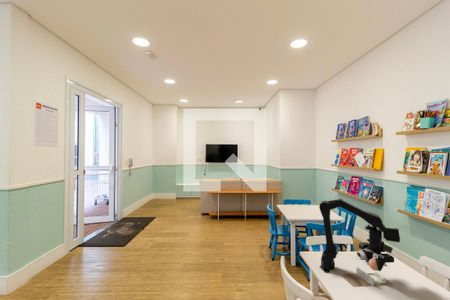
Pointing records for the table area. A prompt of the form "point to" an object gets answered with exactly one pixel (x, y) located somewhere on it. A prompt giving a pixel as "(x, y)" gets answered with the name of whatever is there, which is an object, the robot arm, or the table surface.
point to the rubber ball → (373, 264)
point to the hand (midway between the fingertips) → (375, 267)
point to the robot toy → (362, 256)
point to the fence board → (362, 279)
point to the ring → (377, 278)
